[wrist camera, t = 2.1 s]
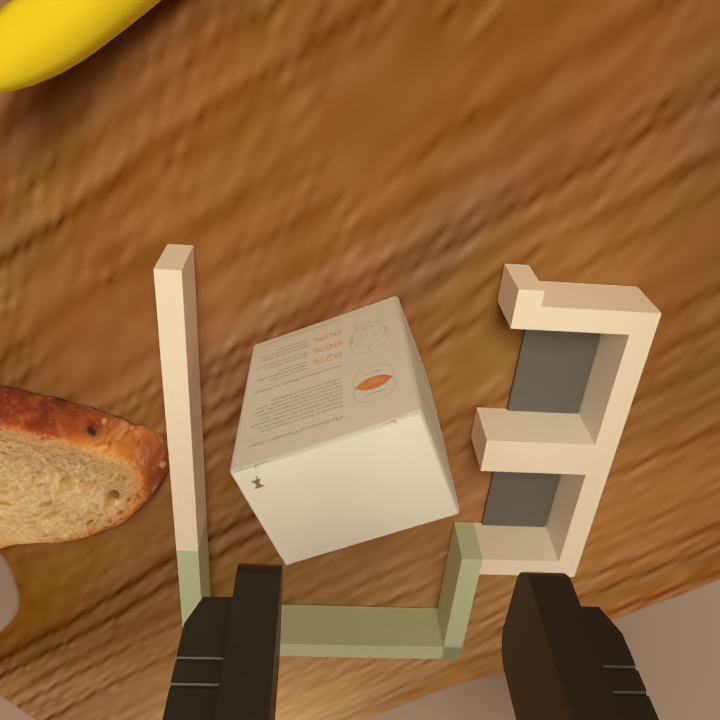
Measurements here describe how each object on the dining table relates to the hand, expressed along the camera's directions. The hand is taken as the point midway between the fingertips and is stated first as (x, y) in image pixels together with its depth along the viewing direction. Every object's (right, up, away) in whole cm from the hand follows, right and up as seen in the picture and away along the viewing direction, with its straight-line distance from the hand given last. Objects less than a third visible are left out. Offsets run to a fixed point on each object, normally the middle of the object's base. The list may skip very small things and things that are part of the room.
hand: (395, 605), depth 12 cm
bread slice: (-22, 0, +27) cm, 35 cm away
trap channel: (+1, -2, +28) cm, 28 cm away
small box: (-2, +4, +25) cm, 25 cm away
